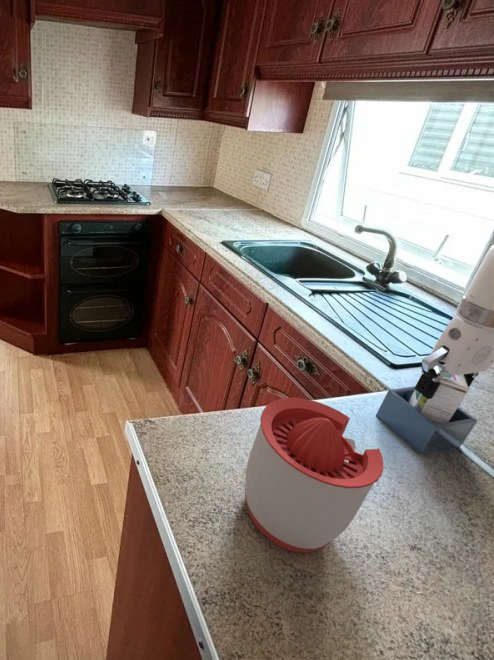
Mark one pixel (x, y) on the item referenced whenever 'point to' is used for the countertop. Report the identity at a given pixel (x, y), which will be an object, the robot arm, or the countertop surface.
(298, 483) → the citrus juicer
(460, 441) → the box
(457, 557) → the countertop surface
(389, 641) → the countertop surface
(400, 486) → the countertop surface
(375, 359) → the countertop surface
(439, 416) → the syrup box
